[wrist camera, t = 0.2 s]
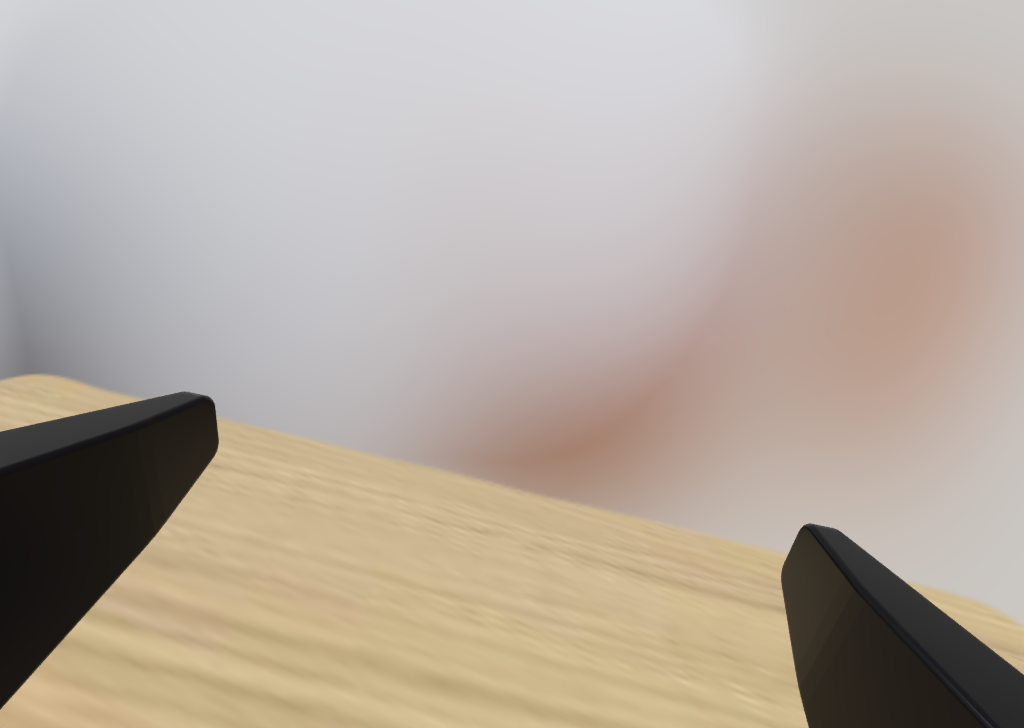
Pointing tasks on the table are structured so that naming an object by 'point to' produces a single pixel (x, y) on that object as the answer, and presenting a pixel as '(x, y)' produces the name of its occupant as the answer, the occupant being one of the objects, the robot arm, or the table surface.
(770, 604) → the table surface
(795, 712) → the table surface
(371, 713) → the table surface
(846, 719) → the robot arm
